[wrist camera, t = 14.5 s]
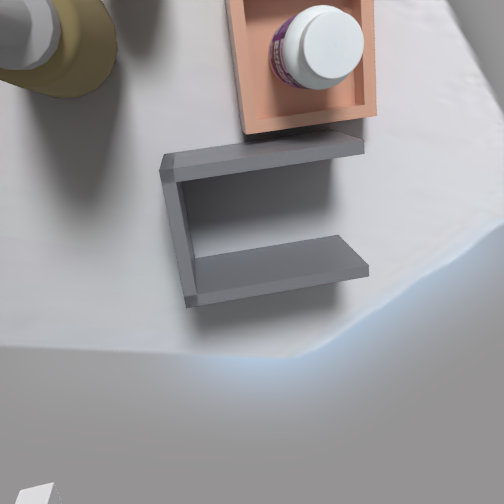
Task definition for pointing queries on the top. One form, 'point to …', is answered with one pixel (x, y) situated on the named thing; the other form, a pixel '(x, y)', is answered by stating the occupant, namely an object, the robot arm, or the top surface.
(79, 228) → the top surface
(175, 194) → the bay
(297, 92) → the dish
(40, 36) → the squeeze bottle
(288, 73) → the pill bottle
